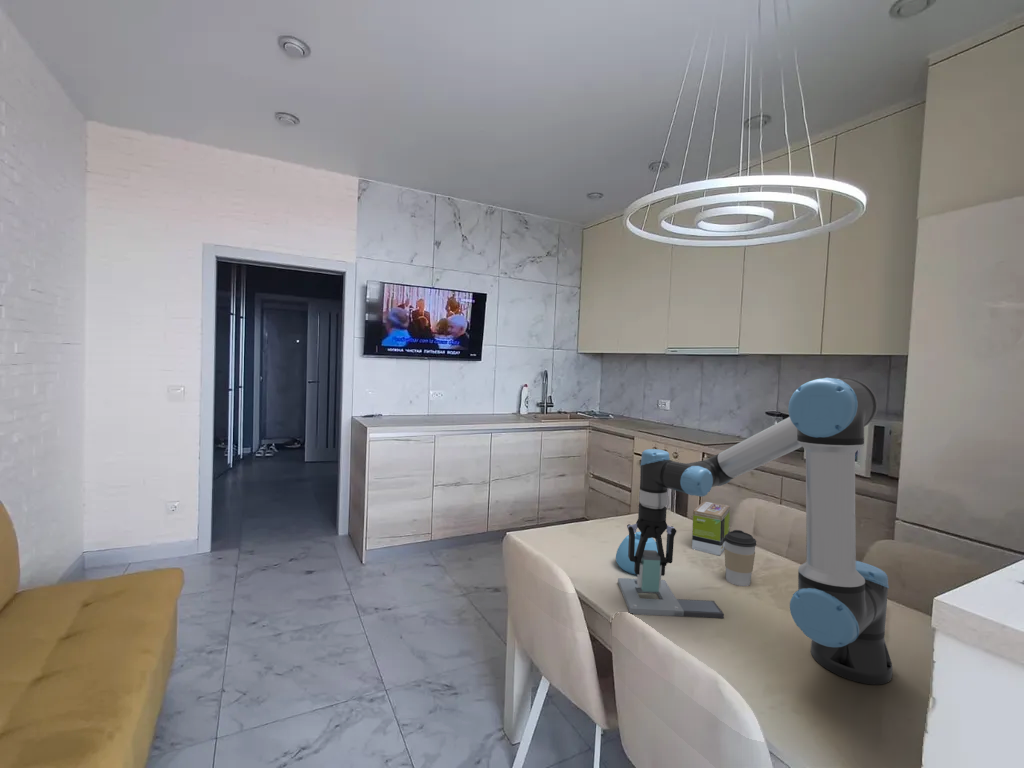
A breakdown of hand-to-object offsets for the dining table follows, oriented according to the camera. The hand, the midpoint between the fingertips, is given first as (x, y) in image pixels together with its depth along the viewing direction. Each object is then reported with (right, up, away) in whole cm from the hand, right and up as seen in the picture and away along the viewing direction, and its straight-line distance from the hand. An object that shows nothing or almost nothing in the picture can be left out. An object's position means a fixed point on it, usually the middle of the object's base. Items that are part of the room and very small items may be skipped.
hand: (648, 585), depth 136 cm
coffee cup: (+31, -4, +13) cm, 34 cm away
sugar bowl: (+3, -3, +21) cm, 21 cm away
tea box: (+34, -3, +41) cm, 54 cm away
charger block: (0, -1, 0) cm, 1 cm away
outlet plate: (0, -4, 0) cm, 4 cm away
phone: (+11, -4, -6) cm, 13 cm away
